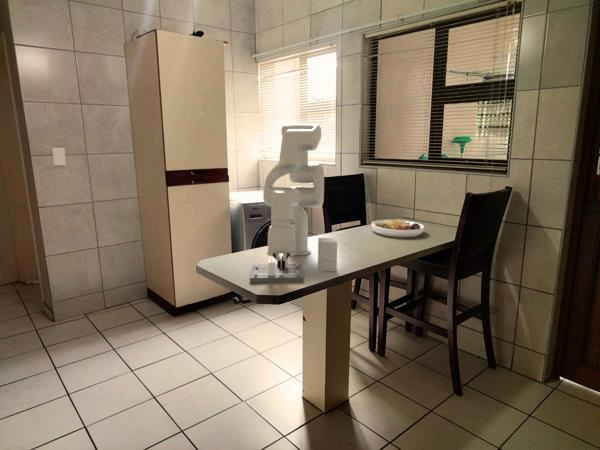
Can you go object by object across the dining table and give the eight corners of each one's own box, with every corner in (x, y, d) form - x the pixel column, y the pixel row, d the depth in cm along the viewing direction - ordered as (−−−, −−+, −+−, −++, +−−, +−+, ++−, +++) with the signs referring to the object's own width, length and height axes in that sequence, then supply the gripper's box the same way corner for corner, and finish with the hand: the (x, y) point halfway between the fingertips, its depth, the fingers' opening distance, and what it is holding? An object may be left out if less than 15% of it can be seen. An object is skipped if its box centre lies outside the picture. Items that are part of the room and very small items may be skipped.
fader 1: (268, 271, 156) (268, 258, 155) (274, 271, 157) (274, 258, 155) (268, 275, 152) (268, 262, 151) (274, 275, 152) (274, 262, 151)
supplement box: (334, 266, 172) (335, 237, 169) (336, 271, 165) (337, 242, 162) (317, 266, 172) (318, 237, 169) (318, 271, 164) (319, 241, 162)
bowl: (360, 232, 237) (361, 218, 235) (391, 225, 256) (391, 213, 255) (404, 242, 215) (405, 227, 213) (433, 233, 235) (434, 220, 233)
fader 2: (281, 264, 165) (281, 252, 164) (287, 264, 166) (287, 252, 164) (281, 268, 161) (281, 255, 160) (287, 268, 161) (287, 255, 160)
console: (252, 269, 166) (252, 262, 166) (300, 269, 168) (300, 262, 167) (250, 283, 151) (250, 275, 150) (303, 282, 152) (303, 274, 151)
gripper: (300, 221, 154) (299, 266, 158) (261, 221, 153) (261, 267, 157) (301, 225, 147) (301, 273, 151) (261, 225, 146) (261, 273, 150)
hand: (281, 269), depth 154 cm, fingers closed
